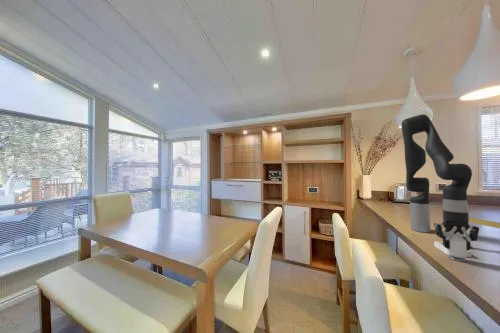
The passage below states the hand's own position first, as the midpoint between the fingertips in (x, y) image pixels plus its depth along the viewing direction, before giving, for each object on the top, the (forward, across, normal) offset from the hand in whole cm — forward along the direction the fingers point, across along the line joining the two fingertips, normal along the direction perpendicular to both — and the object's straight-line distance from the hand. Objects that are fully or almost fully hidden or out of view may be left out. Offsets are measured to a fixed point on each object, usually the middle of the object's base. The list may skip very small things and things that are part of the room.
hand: (456, 248), depth 80 cm
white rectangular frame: (+4, +3, +9) cm, 10 cm away
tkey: (+3, +15, +12) cm, 19 cm away
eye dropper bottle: (+3, 0, 0) cm, 3 cm away
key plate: (+5, +12, +17) cm, 21 cm away
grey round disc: (+4, 0, 0) cm, 4 cm away
